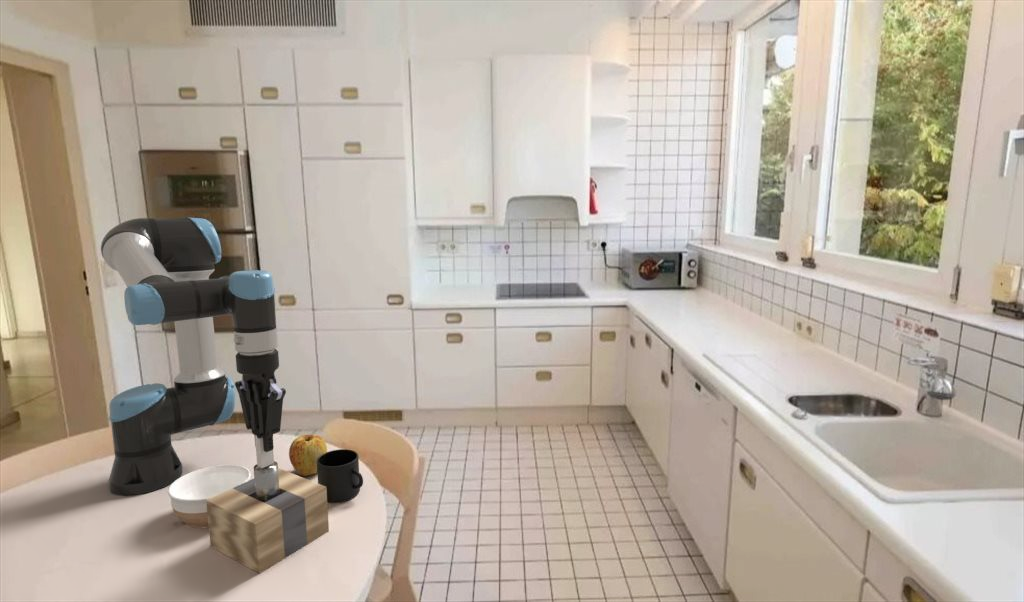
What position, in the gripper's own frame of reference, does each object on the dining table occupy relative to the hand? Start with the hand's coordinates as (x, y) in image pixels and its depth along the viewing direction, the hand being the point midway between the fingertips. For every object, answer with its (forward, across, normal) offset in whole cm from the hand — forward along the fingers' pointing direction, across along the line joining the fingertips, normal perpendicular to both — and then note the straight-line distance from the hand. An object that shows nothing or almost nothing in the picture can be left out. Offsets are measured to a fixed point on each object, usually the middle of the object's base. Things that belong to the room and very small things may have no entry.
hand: (265, 464), depth 108 cm
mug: (+16, -1, +20) cm, 26 cm away
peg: (+9, 0, 0) cm, 9 cm away
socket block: (+16, 0, 0) cm, 16 cm away
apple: (+16, -17, +23) cm, 33 cm away
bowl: (+16, -19, -1) cm, 25 cm away
